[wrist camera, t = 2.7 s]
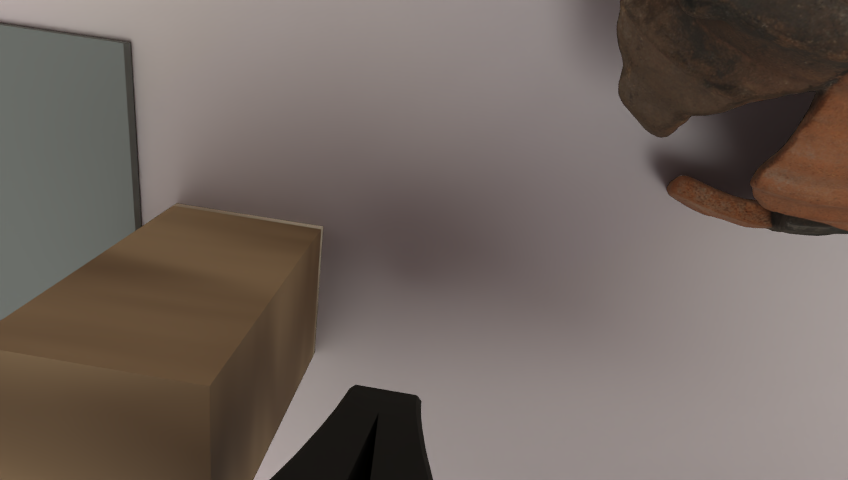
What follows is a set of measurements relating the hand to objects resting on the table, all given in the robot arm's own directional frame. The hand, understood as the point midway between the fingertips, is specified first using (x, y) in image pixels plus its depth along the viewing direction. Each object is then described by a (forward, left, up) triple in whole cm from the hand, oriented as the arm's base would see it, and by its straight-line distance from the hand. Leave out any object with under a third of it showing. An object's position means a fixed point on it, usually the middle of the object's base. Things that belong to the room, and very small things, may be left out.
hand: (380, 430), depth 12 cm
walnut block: (0, +5, -5) cm, 7 cm away
